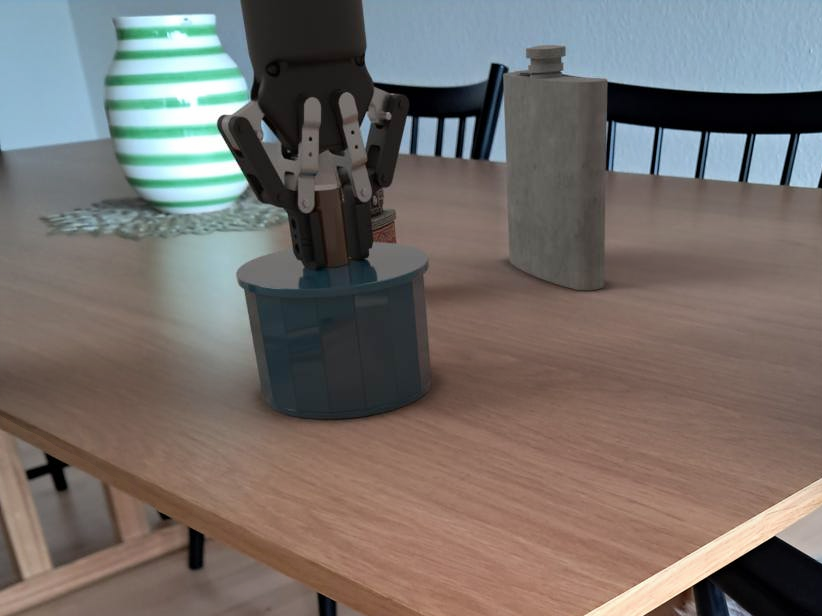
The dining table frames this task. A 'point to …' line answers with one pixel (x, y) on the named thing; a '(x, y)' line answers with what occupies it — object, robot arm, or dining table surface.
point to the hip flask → (556, 171)
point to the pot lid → (332, 261)
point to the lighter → (382, 219)
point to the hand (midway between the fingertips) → (335, 261)
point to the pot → (342, 351)
